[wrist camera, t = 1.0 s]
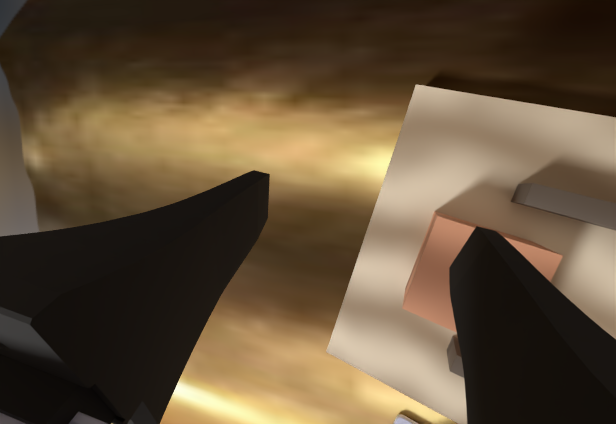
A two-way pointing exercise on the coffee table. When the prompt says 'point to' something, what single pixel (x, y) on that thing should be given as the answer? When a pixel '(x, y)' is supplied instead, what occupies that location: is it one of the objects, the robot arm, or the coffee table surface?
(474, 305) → the robot arm
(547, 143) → the deck
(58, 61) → the coffee table surface
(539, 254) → the block
